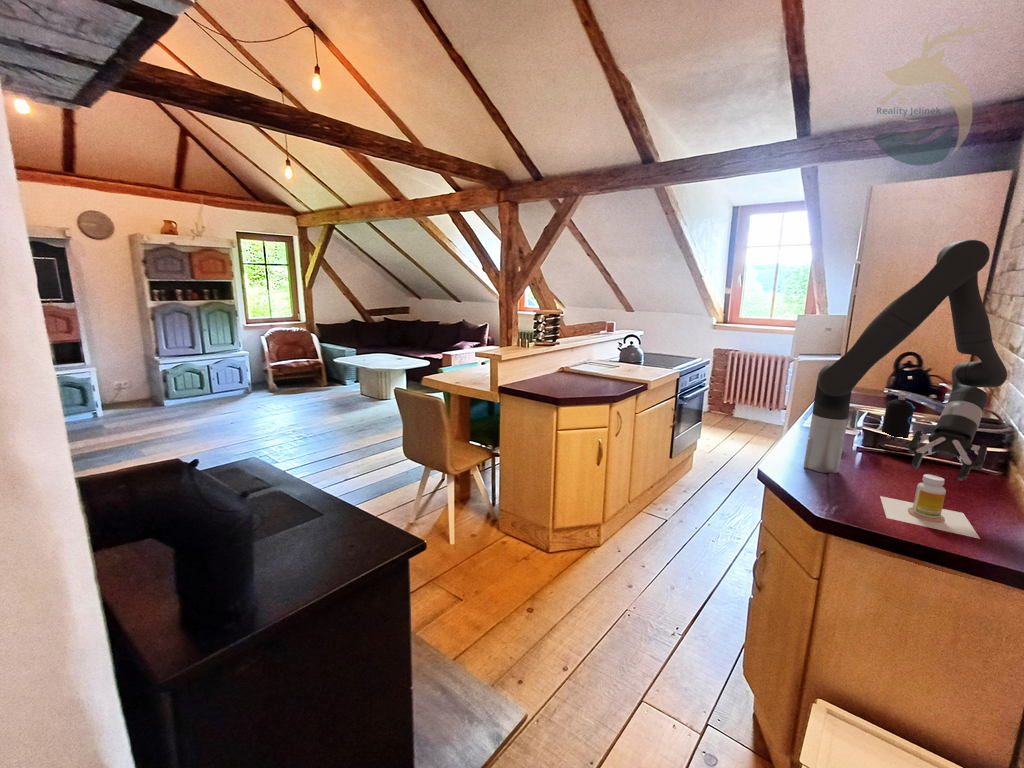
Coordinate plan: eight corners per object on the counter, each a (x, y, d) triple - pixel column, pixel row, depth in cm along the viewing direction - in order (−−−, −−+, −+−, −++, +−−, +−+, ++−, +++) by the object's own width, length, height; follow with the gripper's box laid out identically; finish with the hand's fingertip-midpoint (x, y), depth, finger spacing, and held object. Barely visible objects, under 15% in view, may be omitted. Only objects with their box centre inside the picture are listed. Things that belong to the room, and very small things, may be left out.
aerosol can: (881, 449, 170) (892, 395, 166) (874, 442, 177) (884, 390, 173) (910, 453, 167) (921, 397, 163) (901, 446, 174) (912, 393, 170)
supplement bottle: (945, 520, 116) (954, 482, 114) (920, 517, 117) (928, 480, 115) (931, 510, 121) (939, 474, 119) (907, 507, 122) (914, 472, 120)
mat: (886, 520, 117) (886, 517, 117) (879, 498, 130) (879, 496, 130) (979, 541, 108) (980, 538, 108) (962, 515, 121) (963, 513, 121)
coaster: (909, 517, 118) (910, 515, 118) (905, 506, 124) (905, 505, 124) (947, 525, 114) (947, 523, 114) (940, 513, 120) (941, 512, 120)
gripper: (922, 407, 127) (900, 456, 122) (997, 420, 116) (976, 475, 111) (923, 423, 131) (902, 471, 127) (995, 437, 120) (975, 490, 116)
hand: (937, 473), depth 119 cm, fingers open, 8 cm apart
